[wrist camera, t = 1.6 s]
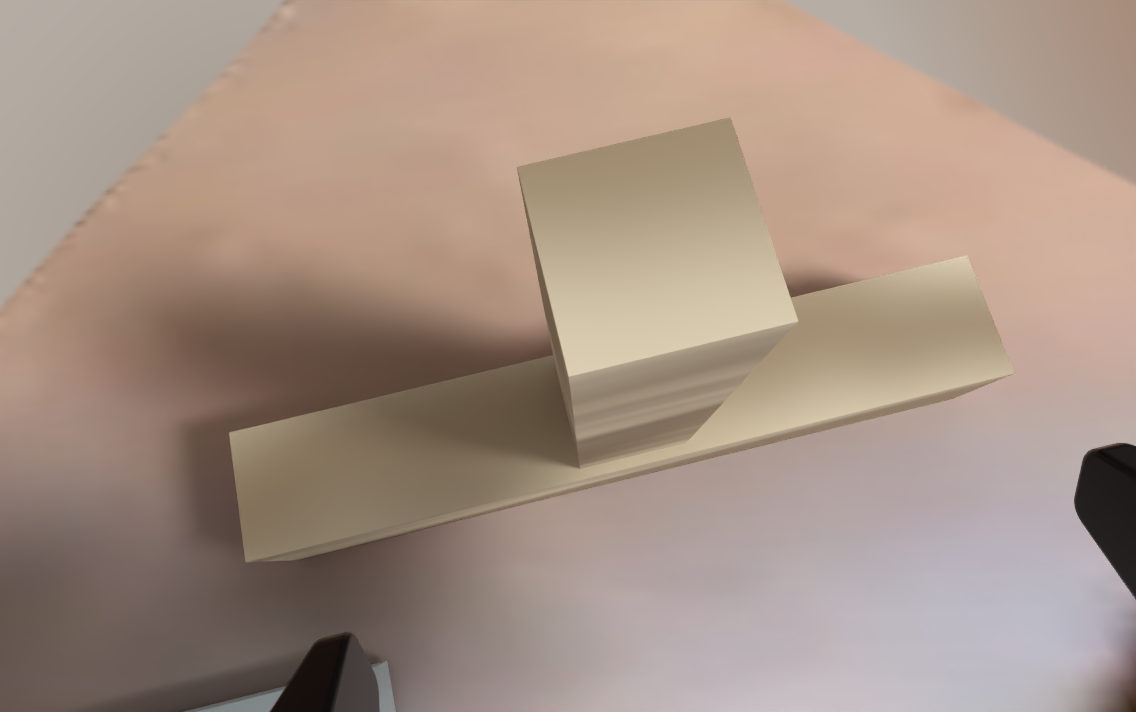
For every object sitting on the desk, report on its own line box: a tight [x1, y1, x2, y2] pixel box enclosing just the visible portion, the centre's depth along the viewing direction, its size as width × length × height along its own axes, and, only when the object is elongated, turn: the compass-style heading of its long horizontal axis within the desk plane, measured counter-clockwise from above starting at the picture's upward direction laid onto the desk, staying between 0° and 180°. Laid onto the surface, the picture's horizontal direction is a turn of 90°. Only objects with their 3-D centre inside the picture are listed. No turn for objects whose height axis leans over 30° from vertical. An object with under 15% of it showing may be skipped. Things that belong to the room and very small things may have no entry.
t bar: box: [229, 118, 1014, 562], centre depth 14 cm, size 3×18×12 cm, turn 104°
